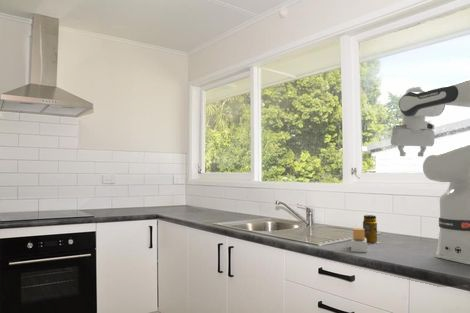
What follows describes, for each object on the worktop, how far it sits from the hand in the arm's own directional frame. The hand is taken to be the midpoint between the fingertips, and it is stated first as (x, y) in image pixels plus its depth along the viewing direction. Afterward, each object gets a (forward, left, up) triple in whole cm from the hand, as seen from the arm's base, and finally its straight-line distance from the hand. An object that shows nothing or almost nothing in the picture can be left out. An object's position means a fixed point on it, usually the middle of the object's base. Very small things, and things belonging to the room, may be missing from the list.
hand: (411, 156), depth 165 cm
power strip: (-2, +29, -39) cm, 48 cm away
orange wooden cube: (-2, +29, -35) cm, 45 cm away
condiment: (+11, +15, -39) cm, 43 cm away
